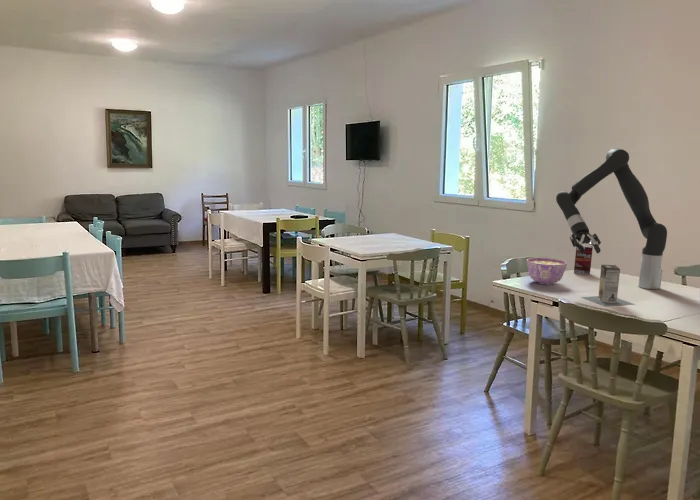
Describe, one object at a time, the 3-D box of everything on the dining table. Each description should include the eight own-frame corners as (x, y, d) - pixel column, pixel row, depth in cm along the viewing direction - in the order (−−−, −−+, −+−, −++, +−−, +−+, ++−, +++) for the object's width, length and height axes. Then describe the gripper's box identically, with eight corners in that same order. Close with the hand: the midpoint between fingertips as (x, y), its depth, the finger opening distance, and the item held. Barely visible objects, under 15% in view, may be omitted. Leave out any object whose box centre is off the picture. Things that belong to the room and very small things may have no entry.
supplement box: (573, 273, 315) (576, 246, 312) (573, 272, 319) (576, 244, 317) (590, 275, 312) (592, 247, 309) (590, 273, 316) (592, 246, 313)
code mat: (609, 295, 267) (609, 295, 267) (634, 304, 251) (634, 304, 251) (581, 297, 262) (581, 297, 262) (604, 306, 247) (604, 306, 247)
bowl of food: (543, 288, 278) (545, 266, 276) (516, 280, 296) (518, 258, 294) (574, 285, 286) (575, 263, 284) (546, 277, 304) (547, 256, 302)
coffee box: (597, 297, 262) (600, 264, 259) (612, 298, 261) (615, 264, 258) (602, 302, 253) (605, 268, 250) (617, 303, 252) (620, 268, 249)
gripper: (569, 221, 270) (582, 248, 262) (594, 220, 274) (608, 247, 265) (561, 230, 276) (574, 257, 267) (586, 230, 280) (599, 256, 271)
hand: (591, 252), depth 266 cm, fingers open, 8 cm apart
